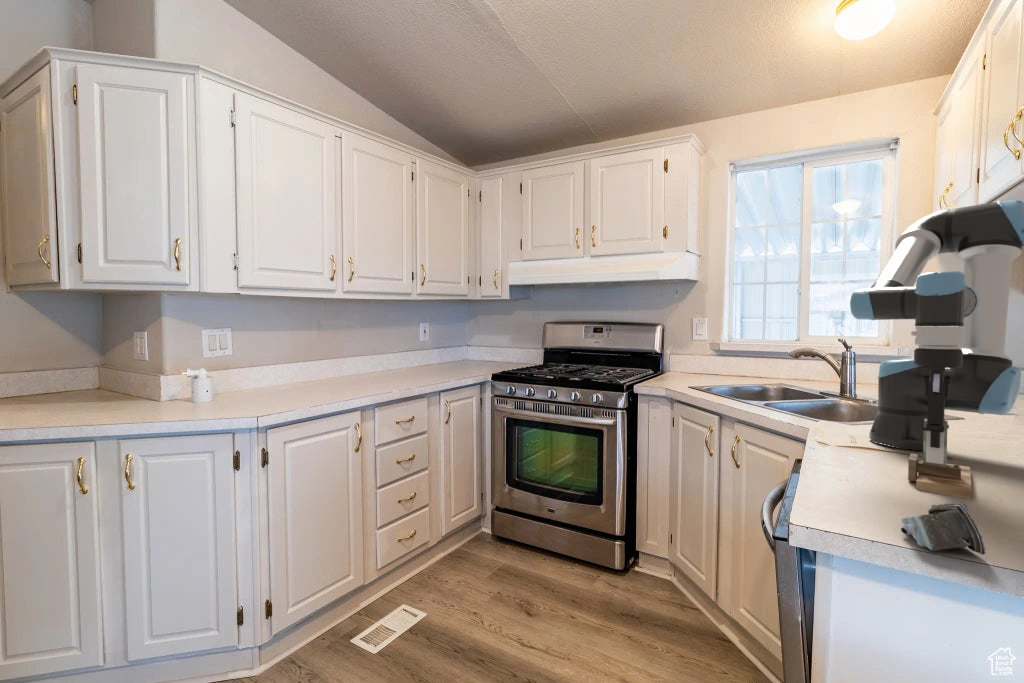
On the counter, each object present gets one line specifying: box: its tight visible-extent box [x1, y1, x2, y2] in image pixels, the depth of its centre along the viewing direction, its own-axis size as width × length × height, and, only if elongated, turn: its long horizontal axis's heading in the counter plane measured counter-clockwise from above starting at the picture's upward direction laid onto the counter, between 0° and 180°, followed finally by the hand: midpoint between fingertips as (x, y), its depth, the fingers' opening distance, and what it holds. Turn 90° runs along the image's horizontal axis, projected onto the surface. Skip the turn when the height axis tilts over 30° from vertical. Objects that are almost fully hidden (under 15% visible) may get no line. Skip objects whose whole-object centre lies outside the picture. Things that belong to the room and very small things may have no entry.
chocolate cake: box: [900, 501, 986, 556], centre depth 73 cm, size 10×7×12 cm
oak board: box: [915, 459, 973, 500], centre depth 101 cm, size 20×8×2 cm, turn 137°
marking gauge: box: [907, 419, 961, 482], centre depth 99 cm, size 6×8×12 cm
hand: (934, 460), depth 100 cm, fingers closed on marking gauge, 3 cm apart
